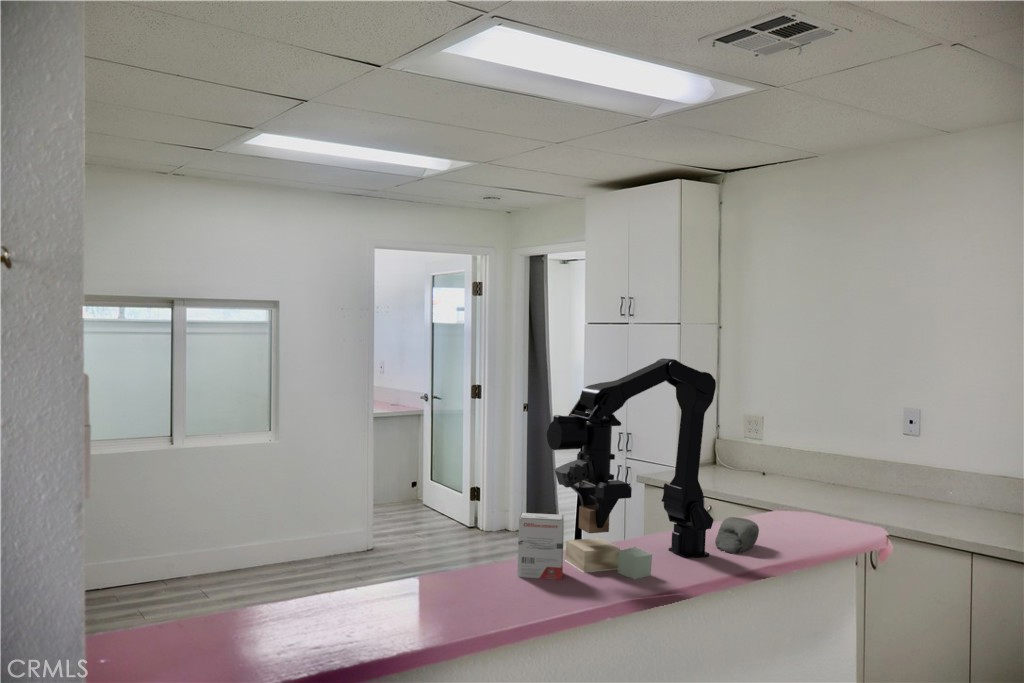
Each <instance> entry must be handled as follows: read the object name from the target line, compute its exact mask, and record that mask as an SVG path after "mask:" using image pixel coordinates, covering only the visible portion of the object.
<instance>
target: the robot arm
mask: <svg viewBox="0 0 1024 683" xmlns="http://www.w3.org/2000/svg"><path fill="white" fill-rule="evenodd" d="M664 382H667V384H668V385H671V386H673V387H674V388H675V398H676V400H677V403H678V406H679V408H680V419H679V420H680V422H679V431H678V441H677V442H678V443H677V451H676V460H675V462H676V463H675V469H674V470H675V472H674V477H673V478H672V480H671V481H670V483H667V482H665V483H664V484H663V488H662V489H663V494H662V495H663V496H662V498H661V502H662V503H663V509H664V511H665V512H666V513H667V517H668V521H669V522H670V523H671V522H672V523H674V524H673V531H672V532H671V546H670V547H669V548H668V551H670V552H672V553H674V554H676V555H678V556H680V557H682V558H686V559H690V558H701V557H709V556H710V553H709V552H708V551H706V535H707V534H706V532H707V530H711V529H712V527H713V523H714V521H715V520H714V518H713V517H712V516H711V514H710V513H709V511H707V509H706V508H705V505H704V503H705V502H704V501H705V500H704V499H705V498H704V492H703V490H702V486H701V484H700V481H699V472H700V471H699V470H700V461H701V451H702V443H703V433H704V424H705V423H704V422H705V414H706V413H707V410H708V409H709V407H710V406H711V405H712V403H713V401H714V397H715V393H716V387H717V381H716V379H715V378H714V376H713V375H712V374H711V373H709V372H708V371H707V372H706V371H700V370H697V369H695V368H693V367H690V366H688V365H686V364H683V363H682V362H680V361H678V360H677V359H674V358H664V357H663V358H660V359H658V360H656V361H655V362H653V363H651V364H648V365H646V366H645V367H643V368H640V369H638V370H636V371H633V372H632V373H630V374H627V375H625V376H622V377H621V378H618V379H615V380H611V381H604V382H599V383H598V382H597V383H594V384H590V385H587V386H584V388H582V390H581V392H580V396H579V399H578V400H577V402H575V404H574V406H573V408H572V409H571V411H570V412H569V413H568V415H560V414H554V415H553V416H552V422H550V423H549V426H548V429H547V430H546V440H547V443H548V446H549V447H550V449H551V450H552V451H565V450H567V451H568V450H580V449H582V451H578V453H577V456H576V459H575V460H573V461H569V462H567V463H563V465H562V464H561V465H560V466H557V467H556V468H554V473H555V475H556V480H557V483H558V485H561V486H564V487H565V488H571V489H572V490H573V492H575V493H576V494H577V496H578V498H579V502H580V506H585V505H595V509H596V523H597V528H603V526H604V524H605V522H606V520H607V518H608V517H609V518H610V514H611V513H612V511H613V510H614V507H615V506H616V505H617V503H618V502H619V499H620V500H621V499H631V498H632V492H633V491H632V490H633V489H632V486H631V485H630V484H629V483H627V482H626V481H623V480H620V479H615V474H613V473H611V460H612V461H615V460H616V459H615V458H616V454H614V453H612V435H613V434H612V432H613V427H620V426H622V422H621V421H620V420H619V419H617V418H616V416H615V414H614V413H616V412H617V411H619V410H620V409H621V408H623V407H624V405H625V403H627V401H628V400H629V399H631V398H632V397H635V396H637V395H639V394H641V393H644V392H645V391H646V392H647V390H649V389H652V388H654V387H656V386H658V385H661V384H662V383H664Z"/></svg>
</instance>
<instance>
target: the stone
mask: <svg viewBox="0 0 1024 683" xmlns="http://www.w3.org/2000/svg"><path fill="white" fill-rule="evenodd" d="M759 531H760V529H759V526H758V524H757V523H756V522H755V521H753V520H750V519H748V518H743V517H739V516H738V517H736V516H730V517H726V518H725V519H723V520H722V521H721V524H720V527H719V529H718V532H717V534H716V536H715V541H714V543H715V546H716V549H718V550H719V551H720V552H722V551H725V552H724V553H728V554H732V553H735V554H740V552H741V553H743V552H745V550H746V551H748V550H750V549H751V548H753V547H754V545H756V543H757V540H758V538H759ZM747 549H748V550H747Z"/></svg>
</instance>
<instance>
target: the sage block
mask: <svg viewBox="0 0 1024 683" xmlns="http://www.w3.org/2000/svg"><path fill="white" fill-rule="evenodd" d="M652 560H653V554H652V553H650V552H648V551H645V550H643V549H641V548H639V547H636V546H634V547H628V548H626V549H620V551H619V563H618V569H617V573H618V574H620V575H622V576H625V577H628V578H630V579H632V580H637V579H641V578H645V577H646V578H647V577H651V575H652V564H653V563H652Z"/></svg>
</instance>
